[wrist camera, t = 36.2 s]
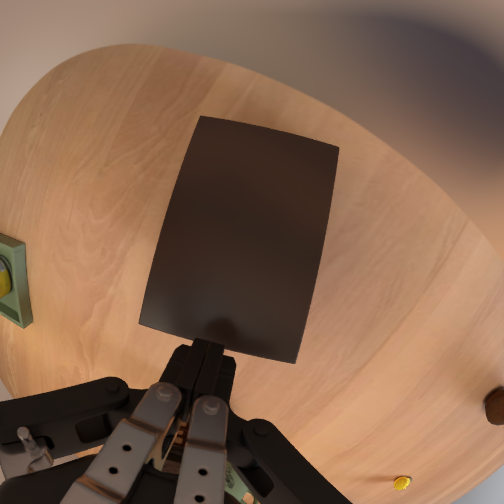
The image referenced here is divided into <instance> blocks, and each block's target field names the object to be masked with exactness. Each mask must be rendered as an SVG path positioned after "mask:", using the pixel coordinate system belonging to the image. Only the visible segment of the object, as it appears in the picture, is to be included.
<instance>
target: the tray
mask: <svg viewBox="0 0 504 504" xmlns="http://www.w3.org/2000/svg"><path fill="white" fill-rule="evenodd" d="M0 256H2V257H4V258H5V259H6V261H7V262H8V263H9V265H10V267H11V270H12V274H13V283H14V287H13V290H12V291H11V292H10V293H9V294H7V295H5V296H4V297H2V298H1V299H0V314H1V315H3V316H4V317H6V318H7V319H9V320H10V321H12V322H13V323H15V324H17V325H18V326H20V327H21V328H23V329H24V328H26V327H27V326H28V325H30V324H31V323H32V322H33V319H32V313H31V307H30V300H29V292H28V284H27V274H26V261H25V243H22V242H20V241H17V240H15V239H12V238H10V237H8V236H5V235H3V234H0Z"/></svg>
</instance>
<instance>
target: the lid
mask: <svg viewBox="0 0 504 504" xmlns="http://www.w3.org/2000/svg"><path fill="white" fill-rule="evenodd" d="M338 155H339V147H337V146H334V145H331V144H327V143H324V142H320V141H317V140H313V139H310V138H306V137H302V136H298V135H295V134H291V133H287V132H282V131H278V130H274V129H270V128H265V127H261V126H256V125H251V124H246V123H241V122H236V121H230V120H225V119H219V118H213V117H207V116H200V118H199V120H198V123H197V125H196V128H195V130H194V133H193V136H192V138H191V141H190V144H189V146H188V149H187V152H186V155H185V157H184V160H183V163H182V166H181V169H180V172H179V175H178V178H177V181H176V184H175V187H174V190H173V193H172V196H171V199H170V202H169V205H168V209H167V212H166V215H165V219H164V222H163V225H162V229H161V232H160V236H159V240H158V243H157V247H156V251H155V254H154V258H153V262H152V266H151V270H150V274H149V278H148V282H147V286H146V291H145V295H144V300H143V304H142V309H141V313H140V318H139V324H140V325H143V326H146V327H149V328H152V329H156V330H159V331H162V332H165V333H168V334H172V335H175V336H178V337H182V338H185V339H189V340H192V341H194V339H195V337H196V338H200V339H204V340H208V341H210V342H211V341H212V342H216V343H219V344H223V345H225V349H227V350H231V351H235V352H239V353H243V354H248V355H252V356H257V357H262V358H266V359H271V360H276V361H281V362H286V363H292V364H295V363H296V360H297V356H298V352H299V349H300V345H301V341H302V337H303V333H304V329H305V325H306V321H307V317H308V313H309V309H310V305H311V301H312V296H313V292H314V287H315V283H316V278H317V274H318V269H319V264H320V260H321V255H322V250H323V245H324V240H325V234H326V229H327V224H328V218H329V212H330V207H331V201H332V195H333V189H334V182H335V176H336V169H337V162H338ZM209 345H210V344H209Z"/></svg>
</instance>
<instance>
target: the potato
mask: <svg viewBox="0 0 504 504" xmlns="http://www.w3.org/2000/svg"><path fill="white" fill-rule="evenodd" d="M485 410H486V417H487V419H488V421H489V422H490V423H491V424H494V425H504V390H499V391H497V392H495V393H494V394H493V395H492V396H491V397H490V398H489V399H488V401H487V403H486V406H485Z"/></svg>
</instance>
